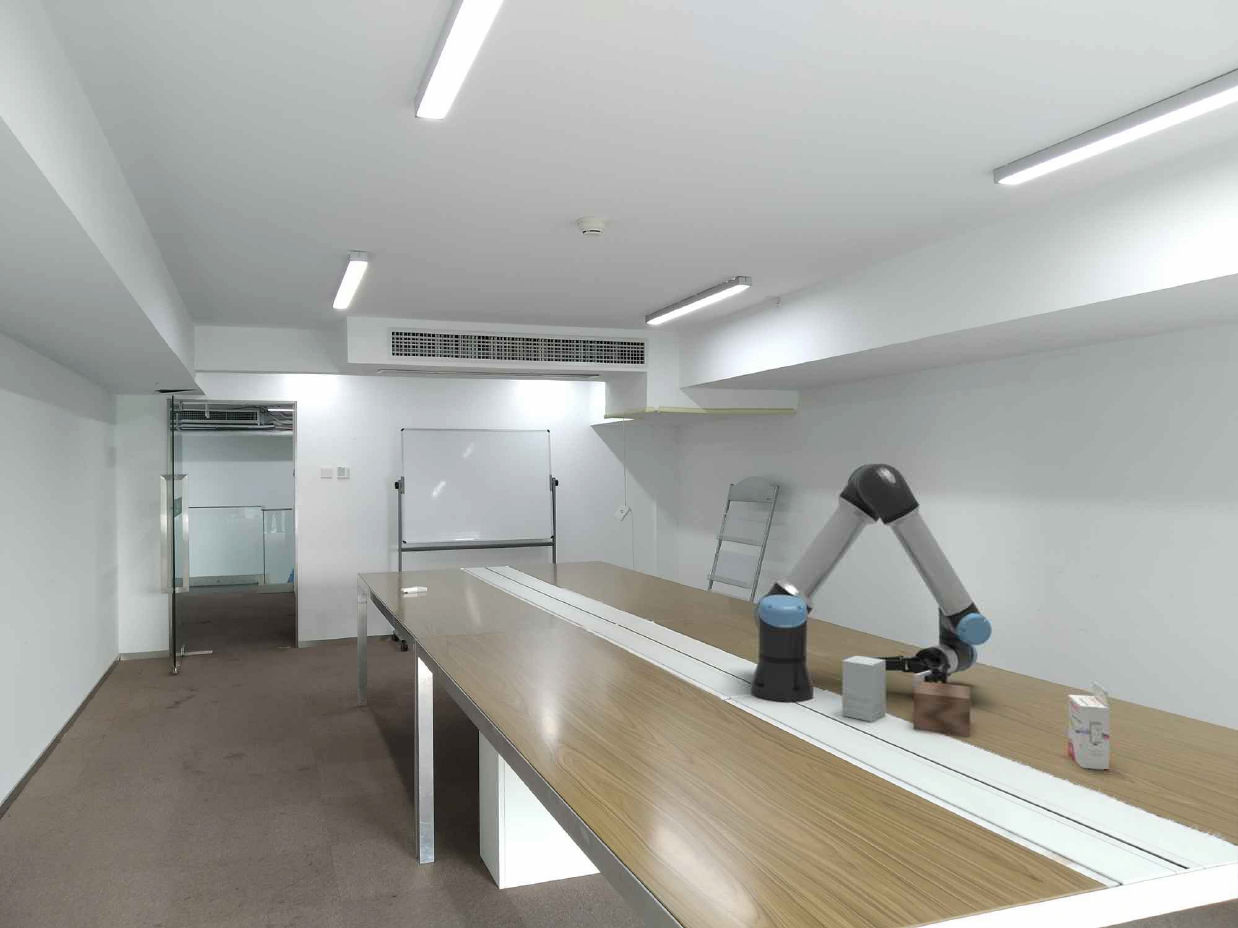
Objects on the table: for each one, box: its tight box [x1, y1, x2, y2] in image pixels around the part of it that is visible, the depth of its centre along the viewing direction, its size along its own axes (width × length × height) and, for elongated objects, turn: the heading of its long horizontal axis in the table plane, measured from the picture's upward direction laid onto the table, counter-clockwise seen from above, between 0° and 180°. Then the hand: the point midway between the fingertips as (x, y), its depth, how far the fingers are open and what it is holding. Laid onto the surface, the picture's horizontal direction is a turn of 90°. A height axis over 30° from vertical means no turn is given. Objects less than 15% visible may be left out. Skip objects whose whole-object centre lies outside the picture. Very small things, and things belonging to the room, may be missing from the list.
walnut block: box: [913, 681, 971, 737], centre depth 183 cm, size 11×11×8 cm
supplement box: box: [841, 655, 887, 723], centre depth 190 cm, size 7×7×13 cm
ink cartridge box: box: [1067, 680, 1110, 770], centre depth 161 cm, size 9×5×15 cm, turn 168°
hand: (888, 675), depth 196 cm, fingers open, 13 cm apart
